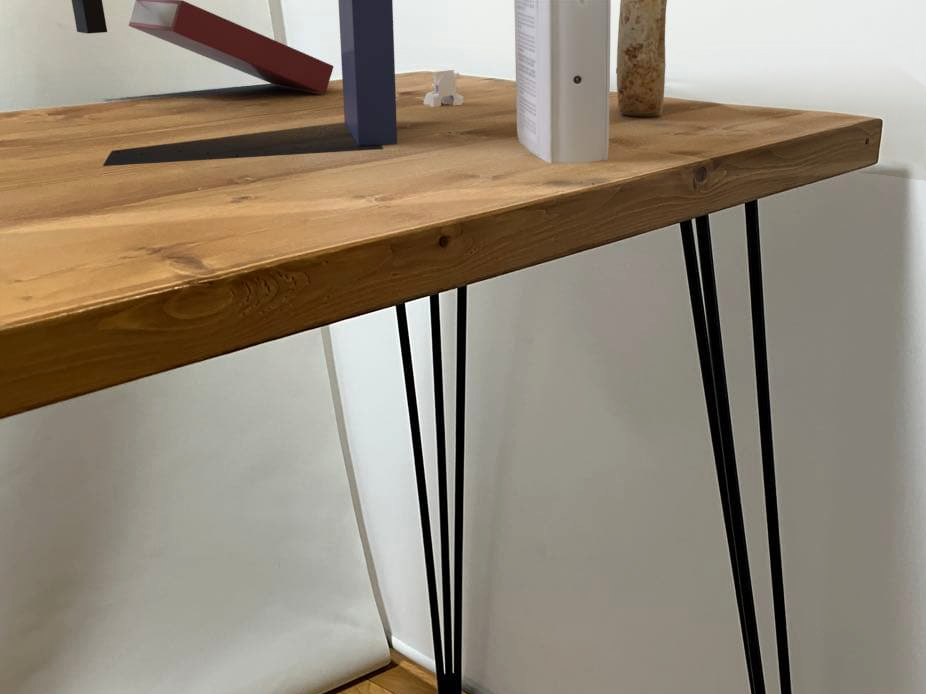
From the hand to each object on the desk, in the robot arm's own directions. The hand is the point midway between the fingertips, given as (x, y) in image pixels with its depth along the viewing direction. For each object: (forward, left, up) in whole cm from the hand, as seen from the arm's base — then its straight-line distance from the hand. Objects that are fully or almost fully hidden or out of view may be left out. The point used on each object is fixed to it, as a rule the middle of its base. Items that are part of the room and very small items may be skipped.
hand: (92, 31), depth 87 cm
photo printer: (+41, +12, -7) cm, 43 cm away
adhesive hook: (+18, +20, -7) cm, 28 cm away
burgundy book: (+1, +11, -3) cm, 11 cm away
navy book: (+26, +7, +1) cm, 27 cm away
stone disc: (+34, +27, -7) cm, 44 cm away
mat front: (+23, 0, -7) cm, 24 cm away
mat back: (+1, +10, -7) cm, 12 cm away
